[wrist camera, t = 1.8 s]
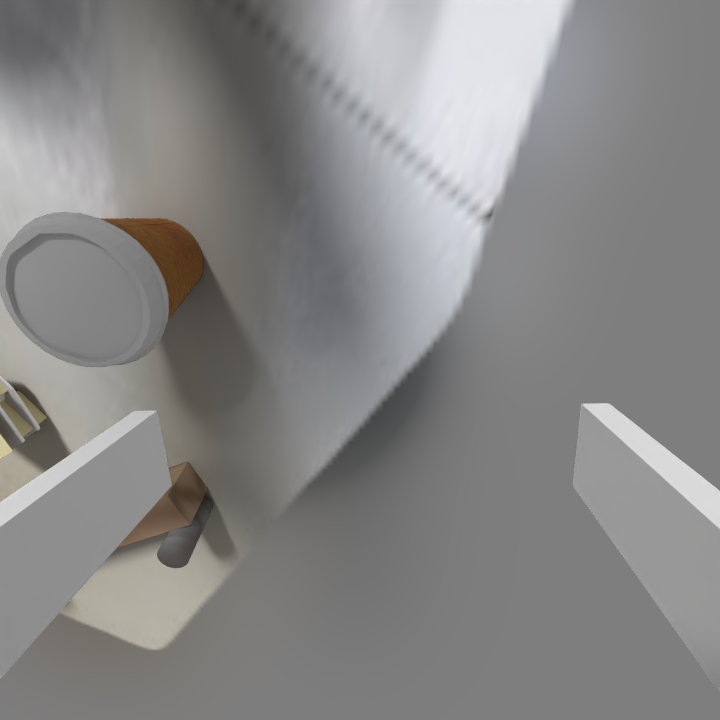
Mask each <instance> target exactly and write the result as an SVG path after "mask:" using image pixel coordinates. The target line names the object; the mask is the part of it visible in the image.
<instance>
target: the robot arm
mask: <svg viewBox="0 0 720 720" xmlns="http://www.w3.org/2000/svg"><path fill="white" fill-rule="evenodd" d="M171 486H172V483H171V478H170V473H169V468H168V463H167V458H166V453H165V448H164V443H163V438H162V433H161V428H160V423H159V418H158V413H157V411H134V412H132V413H131V414H129V415H128V416H126V417H125V418H123V419H122V420H121V421H119V422H118V423H116V424H115V425H113V426H112V427H110V428H109V429H107V430H106V431H104V432H103V433H101V434H100V435H98V436H97V437H95V438H94V439H93V440H91V441H90V442H88V443H87V444H85V445H84V446H82V447H81V448H79V449H78V450H76V451H75V452H73V453H72V454H70V455H69V456H67V457H66V458H65V459H63V460H62V461H60V462H59V463H57V464H56V465H54V466H53V467H51V468H50V469H48V470H47V471H45V472H44V473H42V474H41V475H39V476H38V477H36V478H35V479H34V480H32V481H31V482H29V483H28V484H26V485H25V486H23V487H22V488H20V489H19V490H17V491H16V492H14V493H13V494H11V495H10V496H8V497H7V498H6V499H4V500H3V501H1V502H0V679H1V678H2V676H3V675H4V674H5V673H6V672H7V671H8V669H10V667H11V666H12V665H13V664H14V663H15V662H16V661H17V660H18V658H19V657H20V656H21V655H22V654H23V653H24V652H25V651H26V649H27V648H28V647H29V646H30V645H31V644H32V643H33V642H34V640H35V639H36V638H37V637H38V636H39V635H40V633H42V631H43V630H44V629H45V628H46V627H47V626H48V625H49V624H50V622H51V621H52V620H53V619H54V618H55V617H56V616H57V615H58V613H59V612H60V611H61V610H62V609H63V608H64V607H65V606H66V604H67V603H68V602H69V601H70V600H71V599H72V598H73V596H74V595H75V594H76V593H77V592H78V591H79V590H80V589H81V587H82V586H83V585H84V584H85V583H86V582H87V581H88V580H89V578H90V577H91V576H92V575H93V574H94V573H95V572H96V571H97V569H98V568H99V567H100V566H101V565H102V564H103V563H104V562H105V560H106V559H107V558H108V557H109V556H110V555H111V554H112V553H113V551H114V550H115V549H116V548H117V547H118V546H119V545H120V544H121V542H122V541H123V540H124V539H125V538H126V537H127V536H128V535H129V533H130V532H131V531H132V530H133V529H134V528H135V527H136V526H137V524H138V523H139V522H140V521H141V520H142V519H143V518H144V516H145V515H146V514H147V513H148V512H149V511H150V510H151V509H152V507H153V506H154V505H155V504H156V503H157V502H158V501H159V500H160V498H161V497H162V496H163V495H164V494H165V493H166V492H167V491H168V489H169V488H170V487H171ZM573 486H574V488H575V489H576V491H577V492H578V494H579V495H580V496H581V498H582V499H583V500H584V502H585V503H586V505H587V506H588V508H589V509H590V511H591V512H592V513H593V515H594V516H595V517H596V519H597V520H598V522H599V523H600V524H601V526H602V527H603V529H604V530H605V532H606V533H607V534H608V536H609V537H610V539H611V540H612V542H613V543H614V544H615V546H616V547H617V548H618V550H619V551H620V553H621V554H622V556H623V557H624V558H625V560H626V561H627V563H628V564H629V565H630V567H631V568H632V569H633V571H634V572H635V574H636V575H637V577H638V578H639V579H640V581H641V582H642V584H643V585H644V586H645V588H646V589H647V591H648V592H649V593H650V595H651V596H652V598H653V599H654V601H655V602H656V604H657V605H658V606H659V608H660V609H661V611H662V612H663V613H664V615H665V616H666V618H667V619H668V620H669V622H670V623H671V625H672V626H673V627H674V629H675V630H676V632H677V633H678V635H679V636H680V637H681V639H682V640H683V642H684V643H685V644H686V646H687V647H688V649H689V650H690V651H691V653H692V654H693V656H694V657H695V658H696V660H697V661H698V663H699V664H700V665H701V667H702V668H703V670H704V671H705V673H706V674H707V675H708V677H709V678H710V679H711V681H712V682H713V684H714V685H715V686H716V688H717V689H718V691H719V692H720V491H719V490H718V489H717V488H715V487H714V486H713V485H711V484H710V483H709V482H708V481H706V480H705V479H704V478H703V477H701V476H700V475H699V474H697V473H696V472H695V471H694V470H692V469H691V468H690V467H689V466H687V465H686V464H685V463H684V462H682V461H681V460H680V459H678V458H677V457H676V456H674V455H673V454H672V453H671V452H669V451H668V450H667V449H666V448H665V447H663V446H662V445H661V444H659V443H658V442H657V441H656V440H654V439H653V438H652V437H650V436H649V435H648V434H647V433H646V432H644V431H643V430H642V429H641V428H639V427H638V426H637V425H635V424H634V423H633V422H632V421H630V420H629V419H627V417H625V416H624V415H623V414H621V413H620V412H619V411H618V410H616V409H615V408H614V407H613V406H611V405H610V404H608V403H607V404H606V403H605V404H581V414H580V422H579V432H578V442H577V452H576V461H575V470H574V480H573Z"/></svg>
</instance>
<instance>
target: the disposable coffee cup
mask: <svg viewBox="0 0 720 720" xmlns="http://www.w3.org/2000/svg"><path fill="white" fill-rule="evenodd" d="M202 271H203V257H202V252H201V250H200V248H199V245H198V243H197V242H196V240H195V239H194V237H193V236H192V235H191V234H190V233H189V232H188V231H187V230H186V229H185V228H183V227H182V226H181V225H179V224H177V223H175V222H172V221H169V220H166V219H160V218H158V219H147V218H146V219H143V218H141V219H138V218H137V219H134V218H132V219H128V218H127V219H99V218H95V217H92V216H88V215H84V214H81V213H67V212H60V213H52V214H47V215H44V216H42V217H39V218H36V219H34V220H33V221H31V222H29V223H28V224H26V225H25V226H24V227H23V228H22V229H21V230H20V231H19V232H18V233H17V235H16V236H15V238H14V239H13V240H12V241H11V242H10V243H9V244H8V245H7V247H6V249H5V250H4V252H3V254H2V257H1V260H0V292H1V296H2V299H3V301H4V304H5V306H6V309H7V311H8V312H9V314H10V315H11V317H12V319H13V320H14V322H15V324H16V325H17V326H18V327H19V328H20V329H21V331H22V332H23V333H24V334H25V335H26V336H27V337H28V338H29V339H30V340H31V341H32V342H33V343H35V344H36V345H37V346H39V347H40V348H41V349H43V350H44V351H46V352H47V353H49V354H51V355H53V356H55V357H56V358H58V359H61V360H63V361H66V362H69V363H72V364H76V365H79V366H86V367H106V366H111V365H121V364H126V363H129V362H133V361H136V360H137V359H139V358H141V357H143V356H145V355H146V354H147V353H148V352H150V351H151V350H152V349H153V348H154V347H155V346H156V344H157V343H158V342H159V340H160V339H161V338H162V336H163V333H164V330H165V327H166V324H167V321H168V319H170V317H171V316H172V315H173V313H174V312H175V311H176V309H177V308H178V307H179V306H180V304H181V303H182V302H183V300H184V299H185V298H186V296H187V295H188V294H189V293H190V291H191V290H192V289H193V288H194V286H195V285H196V284H197V283H198V281H199V280H200V277H201V275H202Z"/></svg>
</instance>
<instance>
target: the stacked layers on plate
mask: <svg viewBox="0 0 720 720" xmlns="http://www.w3.org/2000/svg"><path fill="white" fill-rule="evenodd" d="M46 418H47V417H46V416H45V415H44V414H43V413H42V412H41V411H40V410H39V409H38V408H37V407H36V406H35V405H34V404H32V403H31V402H30V401H29V400H28V399H27V398H26V397H25V396H24V395H23V394H22V393H21V392H20V391H17V392H16V391H15V389H14V388H13V387H12V386H11V385H10V384H9V383H8V382H7V381H6V380H5V379H3V378H2V377H1V376H0V459H1V458H3V457H4V456H6V455H8V454H9V453H11V452H12V449H14V448H15V447H17V446H19V445H20V444H22V443H23V442H25V438H27V437H28V436H30V435H31V434H33V433H35V432H36V431H38V430H39V429H40V426H39V424H40V423H41V422H42V421H44V420H45V419H46Z"/></svg>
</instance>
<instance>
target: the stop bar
mask: <svg viewBox="0 0 720 720" xmlns="http://www.w3.org/2000/svg"><path fill="white" fill-rule="evenodd" d="M169 473H170V478H171V483H172V486H171V487H170V488H169V489H168V491H167V492H166V493H165V494H164V495H163V496H162V497H161V498H160V500H159V501H158V502H157V503H156V504H155V505H154V506H153V507H152V509H151V510H150V511H149V512H148V513H147V514H146V515H145V516H144V518H143V519H142V520H141V521H140V522H139V523H138V524H137V526H136V527H135V528H134V529H133V530H132V531H131V532H130V533H129V535H128V536H127V537H126V538H125V539H124V540H123V541H122V542H121V544H120V545H119V546H118V547H121V546H125V545H128V544H131V543H134V542H137V541H141V540H144V539H147V538H150V537H153V536H156V535H160V534H163V533H166V532H168V534H167V536H166V538H165V540H164V542H163V543H162V545H161V547H160V549H159V551H158V553H157V556H158V559H159V561H160V562H161V563H163V564H164V565H166V566H168V567H172V568H181V567H184V566H185V565H187V563H188V561H189V559H190V557H191V555H192V552H193V550H194V548H195V546H196V544H197V541H198V539H199V537H200V535H201V533H202V530H203V528H204V526H205V524H206V521H207V519H208V517H209V515H210V513H211V510H212V508H213V503H212V501H211V499H210V498H209V497H207V496H206V495H205V494H206V492H207V490H208V489H207V487H206V486H205V484H204V483H203V482H202V480H201V479H200V478H199V476H198V475H197V474H196V472H195V471H194V469H193V468H192V467H191V465H190V464H189V463H188V462H186V463H183V464H180V465H177V466H174V467H172V468H169ZM118 547H117V548H118Z"/></svg>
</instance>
